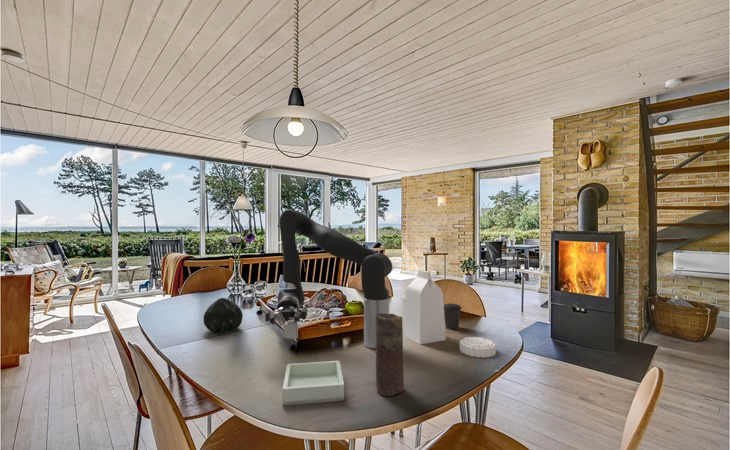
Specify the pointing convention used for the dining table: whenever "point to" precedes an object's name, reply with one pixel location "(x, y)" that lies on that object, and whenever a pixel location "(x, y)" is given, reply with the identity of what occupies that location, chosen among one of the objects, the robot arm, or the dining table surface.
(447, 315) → the coffee cup
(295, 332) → the lighter
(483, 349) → the mooncake
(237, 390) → the dining table surface
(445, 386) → the dining table surface
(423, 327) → the milk
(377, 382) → the candle
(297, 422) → the dining table surface
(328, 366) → the bin
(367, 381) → the dining table surface
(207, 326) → the squash
